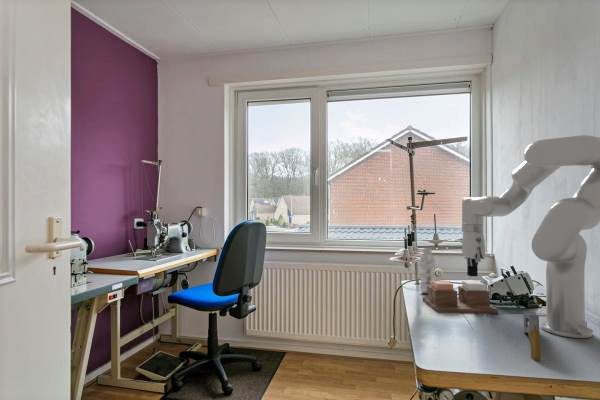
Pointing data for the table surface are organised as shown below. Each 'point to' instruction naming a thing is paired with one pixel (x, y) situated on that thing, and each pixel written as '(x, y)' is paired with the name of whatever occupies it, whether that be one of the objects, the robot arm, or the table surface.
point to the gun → (533, 333)
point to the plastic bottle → (426, 270)
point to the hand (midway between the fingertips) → (472, 275)
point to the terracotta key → (442, 285)
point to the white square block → (473, 285)
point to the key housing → (459, 301)
